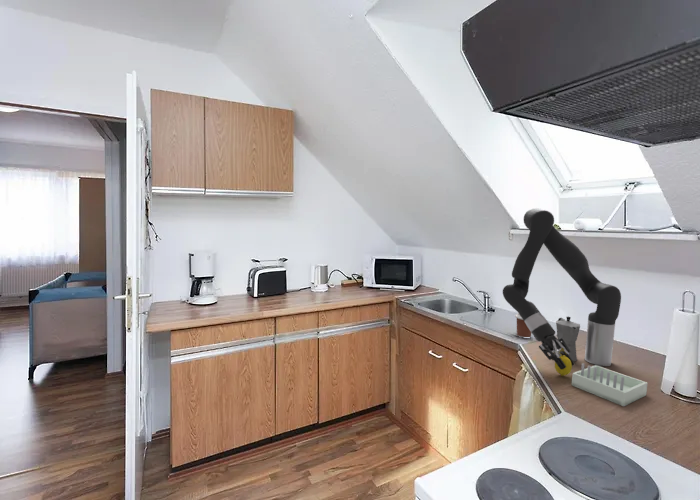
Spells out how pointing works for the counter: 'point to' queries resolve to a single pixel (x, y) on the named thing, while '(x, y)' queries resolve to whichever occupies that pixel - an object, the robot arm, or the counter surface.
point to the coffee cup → (522, 327)
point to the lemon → (568, 365)
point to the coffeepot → (568, 335)
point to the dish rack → (609, 384)
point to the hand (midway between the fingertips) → (568, 366)
